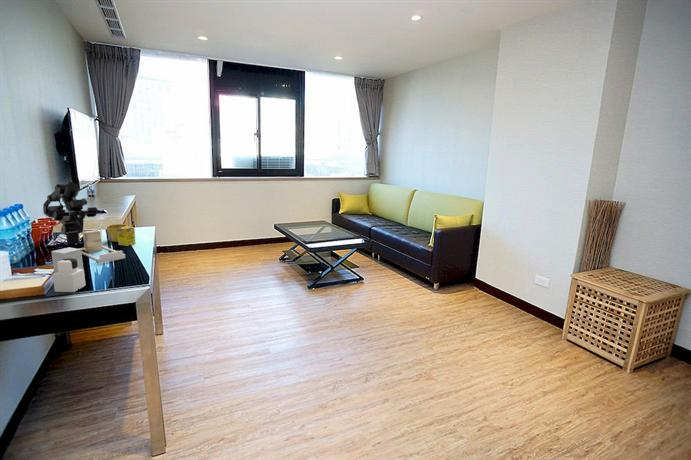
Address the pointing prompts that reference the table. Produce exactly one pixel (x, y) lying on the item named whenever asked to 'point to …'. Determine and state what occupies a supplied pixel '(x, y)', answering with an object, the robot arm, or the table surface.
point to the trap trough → (106, 255)
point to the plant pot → (114, 231)
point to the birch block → (92, 241)
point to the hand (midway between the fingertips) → (82, 226)
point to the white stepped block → (68, 276)
